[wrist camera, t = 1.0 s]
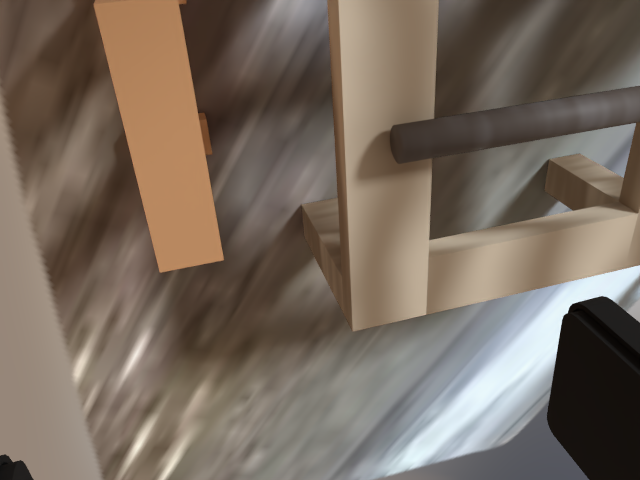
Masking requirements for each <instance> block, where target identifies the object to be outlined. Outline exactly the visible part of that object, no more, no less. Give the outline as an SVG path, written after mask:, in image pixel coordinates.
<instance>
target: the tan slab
mask: <svg viewBox="0 0 640 480" xmlns="http://www.w3.org/2000/svg"><path fill="white" fill-rule="evenodd" d="M179 4H187V2H186V0H95V2H94V8H95V12H96V16H97V20H98V24H99V28H100V32H101V36H102V41H103V45H104V49H105V53H106V57H107V61H108V65H109V69H110V73H111V77H112V81H113V85H114V89H115V93H116V97H117V101H118V105H119V109H120V113H121V117H122V121H123V125H124V129H125V134H126V138H127V142H128V146H129V150H130V154H131V158H132V162H133V166H134V170H135V174H136V178H137V182H138V186H139V190H140V194H141V198H142V202H143V206H144V210H145V214H146V218H147V222H148V227H149V231H150V235H151V239H152V243H153V247H154V251H155V255H156V259H157V263H158V267H159V271H160V273H161V272H166V271H171V270H176V269H181V268H186V267H192V266H197V265H202V264H207V263H212V262H217V261H222V260H224V258H223V252H222V246H221V241H220V235H219V229H218V224H217V218H216V212H215V207H214V201H213V195H212V190H211V184H210V178H209V173H208V167H207V161H206V156H205V155H210V154H212V149H211V144H210V138H209V132H208V126H207V120H206V117H205V114H204V113H198V110H197V105H196V99H195V93H194V88H193V82H192V76H191V71H190V65H189V59H188V54H187V48H186V42H185V37H184V31H183V25H182V20H181V14H180V8H179Z"/></svg>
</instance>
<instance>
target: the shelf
mask: <svg viewBox="0 0 640 480" xmlns="http://www.w3.org/2000/svg"><path fill="white" fill-rule="evenodd" d="M327 2H328V21H329V40H330V59H331V78H332V97H333V116H334V135H335V154H336V173H337V192H338V198H334V199H329V200H323V201H318V202H312V203H307V204H302V215H303V226H304V237H305V239H306V241H307V243H308V245H309V247H310V249H311V251H312V253H313V255H314V257H315V259H316V261H317V263H318V265H319V267H320V269H321V270H322V272H323V274H324V276H325V278H326V280H327V282H328V284H329V286H330V288H331V290H332V292H333V294H334V296H335V298H336V300H337V302H338V304H339V306H340V308H341V310H342V311H343V313H344V315H345V317H346V319H347V321H348V323H349V325H350V327H351V329H352V331H353V332H354V331H358V330H362V329H367V328H371V327H375V326H380V325H384V324H388V323H393V322H397V321H401V320H405V319H410V318H414V317H418V316H423V315H427V314H431V313H436V312H440V311H444V310H449V309H453V308H457V307H461V306H466V305H470V304H474V303H479V302H483V301H487V300H492V299H496V298H500V297H505V296H509V295H513V294H518V293H522V292H526V291H530V290H535V289H539V288H543V287H548V286H552V285H556V284H561V283H565V282H569V281H574V280H578V279H582V278H587V277H591V276H595V275H599V274H604V273H608V272H612V271H617V270H621V269H625V268H630V267H634V266H638V265H640V86H635V87H629V88H623V89H616V90H610V91H604V92H597V93H591V94H585V95H579V96H572V97H566V98H560V99H554V100H547V101H541V102H535V103H529V104H522V105H516V106H510V107H504V108H497V109H491V110H485V111H479V112H472V113H466V114H460V115H454V116H447V117H441V118H435V119H434V105H435V80H436V55H437V30H438V5H439V0H327ZM631 123H636V127H635V131H634V136H633V140H632V145H631V149H630V153H629V158H628V162H627V167H626V171H625V175H624V178H623V177H621V176H619V175H617V174H615V173H614V172H612V171H610V170H608V169H606V168H605V167H603V166H601V165H599V164H597V163H596V162H594V161H592V160H590V159H588V158H587V157H585V156H583V155H581V154H575V155H569V156H564V157H558V158H553V159H549V163H548V170H547V177H546V183H545V190H544V191H546V192H547V193H549V194H550V195H551V196H553V197H554V198H556V199H557V200H559V201H560V202H562V203H563V204H564V205H566V206H567V207H569V208H570V209H572V210H573V211H570V212H565V213H560V214H555V215H551V216H546V217H541V218H536V219H531V220H526V221H521V222H516V223H511V224H507V225H502V226H497V227H492V228H487V229H482V230H477V231H472V232H467V233H463V234H458V235H453V236H448V237H443V238H438V239H433V240H429V231H430V206H431V181H432V158H436V157H442V156H448V155H454V154H459V153H465V152H471V151H476V150H482V149H488V148H494V147H499V146H505V145H511V144H517V143H522V142H528V141H534V140H540V139H545V138H551V137H557V136H562V135H568V134H574V133H580V132H585V131H591V130H597V129H603V128H608V127H614V126H620V125H626V124H631Z"/></svg>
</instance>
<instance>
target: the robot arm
mask: <svg viewBox="0 0 640 480" xmlns="http://www.w3.org/2000/svg"><path fill="white" fill-rule="evenodd" d="M547 420H548V425H549V427H550V430H551V432H552V433H553V435H554V436H555V437H556V438H557V440H558V441H559V442H560V444H561V445H562V446H563V447H564V449H565V450H566V451H567V452H568V453H569V455H570V456H571V457H572V459H573V460H574V461H575V462H576V464H577V465H578V466H579V467H580V469H581V470H582V471H583V472H584V473H585V475H586V476H587V477H588V479H589V480H640V323H639V322H638V321H637V320H636V319H634V318H633V317H632V316H631V315H629V314H628V313H627V312H626V311H625V310H623V309H622V308H621V307H620V306H618V305H617V304H616V303H615V302H614V301H612V300H611V299H609V298H607V297H604V296H600V297H597V298H593V299H589V300H585V301H582V302H578V303H574V304H572V305H571V306H570V308H569V311H568V314H565V315H564V317H563V320H562V325H561V331H560V338H559V344H558V350H557V356H556V362H555V369H554V375H553V381H552V387H551V394H550V400H549V406H548V412H547ZM0 480H33V478H32V477H31V474H30V473H29V470H28V469H27V467H26V465H25V464H24V462H23V461H21V460H20V461H16V462H12V460H11V459H10V458H9V456H7V455H1V456H0Z"/></svg>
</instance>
